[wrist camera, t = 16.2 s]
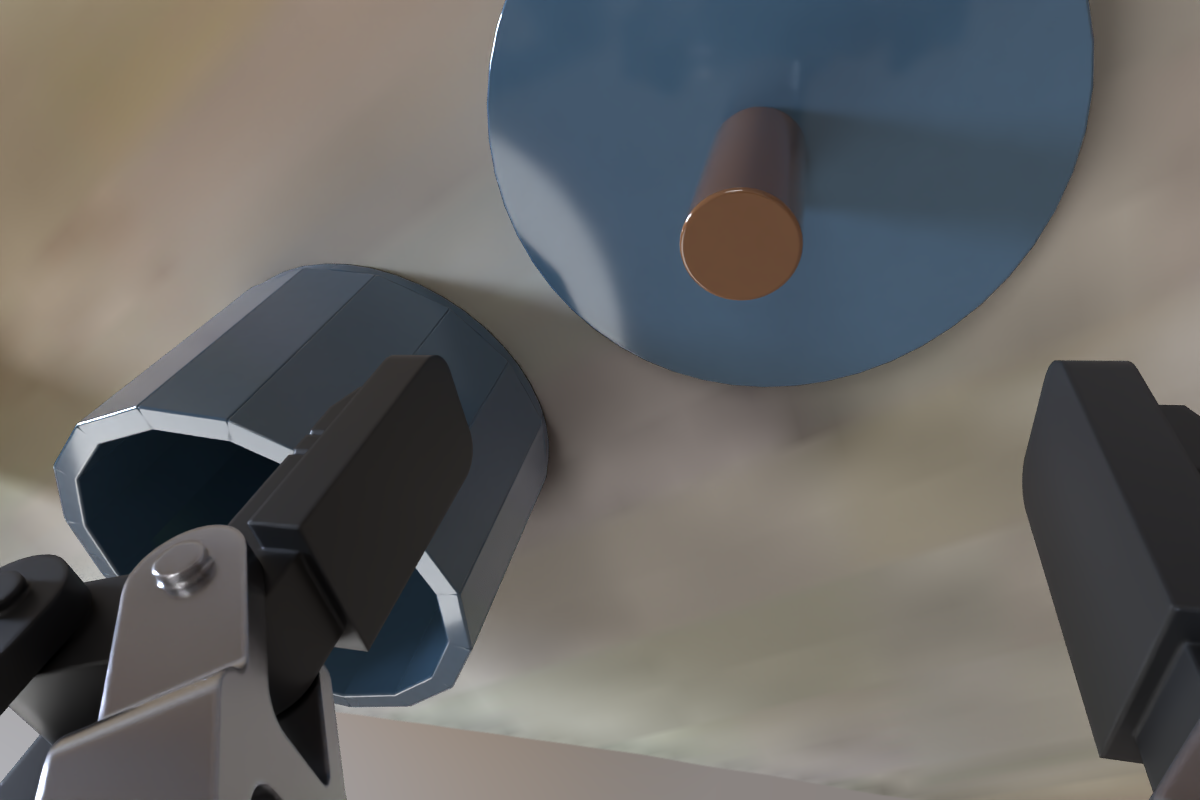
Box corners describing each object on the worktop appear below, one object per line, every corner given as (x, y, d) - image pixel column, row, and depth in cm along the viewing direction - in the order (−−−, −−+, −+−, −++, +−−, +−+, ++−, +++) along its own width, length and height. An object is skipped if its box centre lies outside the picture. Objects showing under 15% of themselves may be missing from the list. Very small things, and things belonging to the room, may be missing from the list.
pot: (227, 454, 33) (81, 605, 27) (235, 198, 24) (21, 328, 18) (497, 574, 34) (420, 751, 27) (599, 367, 25) (522, 552, 19)
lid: (450, 247, 24) (347, 360, 18) (612, -360, 14) (494, -476, 9) (848, 432, 24) (856, 592, 19) (1249, -30, 15) (1476, 38, 10)
